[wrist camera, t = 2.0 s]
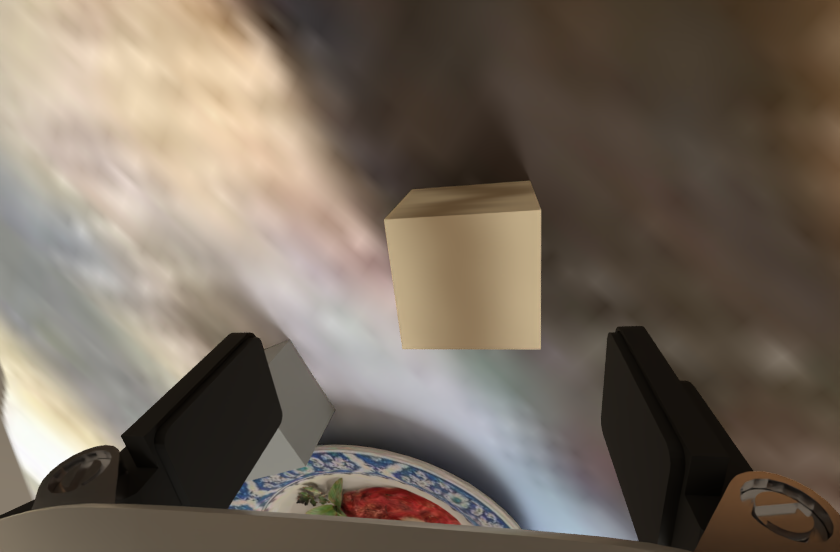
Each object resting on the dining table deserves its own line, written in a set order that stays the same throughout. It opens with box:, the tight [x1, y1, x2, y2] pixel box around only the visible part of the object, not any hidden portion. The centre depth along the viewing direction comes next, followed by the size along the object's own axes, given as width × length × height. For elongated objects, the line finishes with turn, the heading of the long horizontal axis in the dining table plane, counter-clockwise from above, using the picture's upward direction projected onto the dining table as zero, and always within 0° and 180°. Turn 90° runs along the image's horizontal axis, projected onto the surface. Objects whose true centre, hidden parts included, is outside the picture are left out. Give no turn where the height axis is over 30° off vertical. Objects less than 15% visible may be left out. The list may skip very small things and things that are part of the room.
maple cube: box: [384, 181, 541, 349], centre depth 20 cm, size 6×6×6 cm
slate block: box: [245, 340, 335, 482], centre depth 27 cm, size 6×6×5 cm
